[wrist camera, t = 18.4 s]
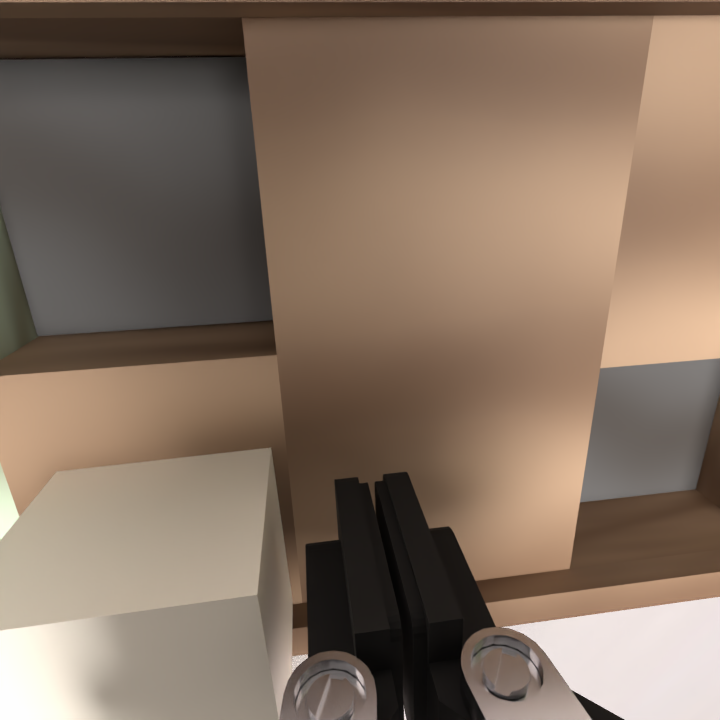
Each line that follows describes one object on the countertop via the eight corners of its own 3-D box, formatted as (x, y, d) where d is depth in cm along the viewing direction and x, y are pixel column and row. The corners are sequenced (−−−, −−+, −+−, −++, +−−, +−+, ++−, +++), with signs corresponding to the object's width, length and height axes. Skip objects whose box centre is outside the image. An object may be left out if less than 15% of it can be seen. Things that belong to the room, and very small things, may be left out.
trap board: (-458, 7, 10) (-1149, -150, 5) (1024, 4, 13) (1415, -89, 9) (-138, 606, 15) (-324, 791, 11) (839, 491, 19) (1015, 592, 14)
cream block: (57, 471, 11) (-84, 642, 7) (271, 447, 12) (257, 594, 8) (108, 627, 13) (20, 836, 9) (292, 600, 14) (290, 789, 9)
